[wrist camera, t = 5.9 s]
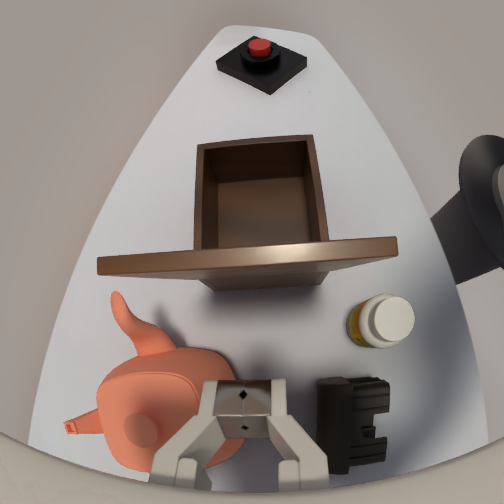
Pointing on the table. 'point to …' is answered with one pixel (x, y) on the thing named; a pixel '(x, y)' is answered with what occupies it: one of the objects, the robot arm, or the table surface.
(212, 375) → the teapot
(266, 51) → the button
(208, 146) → the hatch box
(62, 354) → the table surface
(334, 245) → the hatch
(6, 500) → the robot arm
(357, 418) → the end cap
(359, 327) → the supplement bottle
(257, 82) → the button block
